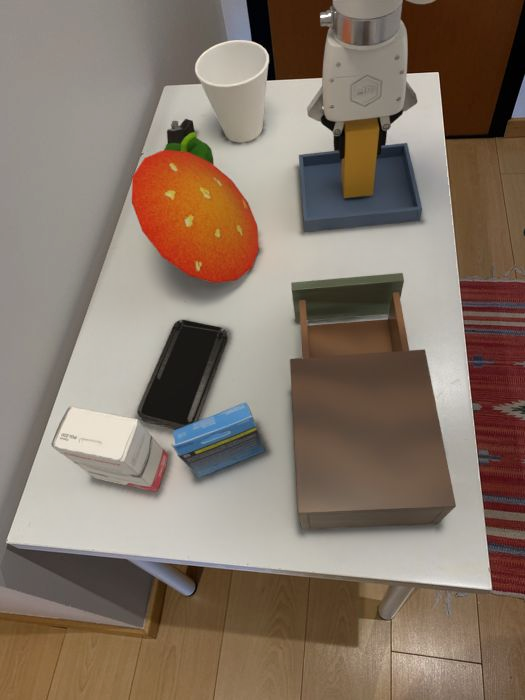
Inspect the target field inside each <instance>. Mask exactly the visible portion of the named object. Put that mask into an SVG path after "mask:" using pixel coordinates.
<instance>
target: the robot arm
mask: <svg viewBox="0 0 525 700" xmlns="http://www.w3.org/2000/svg"><path fill="white" fill-rule="evenodd" d="M405 1H406V2H409V3H411V4H416V5H427V4H431V3H433V2H434V3H435V1H437V0H405ZM402 11H403V0H332V5H331V6H329V9H327V10H326V11H322V12H320V13H319V23H320V24H319V25H320V27H327V28H329V29H328V30H327V33H326V39H325V44H324V52H323V61H322V74H321V75H322V77H321V87H320V88H319V90H318V91H317V92H316V94H315V95H314V97H313V98H312V100H311V101H310V103H309V104H308V105H307V107H306V111H307V113H306V114H307V116H308V117H309V118H311V119H313V120H314V121H317V122H320V123H321V125H323V126H324V127H325V128H327V129H328V130H329V131H331V132H332V136H333V151H338V150H339V158H340V159H343V158H345V132H344V123H345V121H350V120H359V119H368V118H376V117H377V119H378V124H379V137H378V147H377V155H381V147H382V146H383V145H387V144H386V143H387V136H388V135H387V134H388V131H389V130H390V129H391V127H392V126H391V125H392V124H393V123H395V121H397V120H398V119H399V118H400V117H401V116H402V115H403V113H404V112H407V111H408V110H410V109H411V108H413V107H414V106H416V105H417V104H418V97H417V94H416V92H415V91H414V90H413V88H412V87H411V85H410V84H409V83H408V81H407V76H408V75H407V74H408V53H409V50H408V49H409V48H408V47H409V46H408V33H407V28H406V26H405V23H404V22H403V20H402Z"/></svg>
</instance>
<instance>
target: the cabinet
mask: <svg viewBox="0 0 525 700" xmlns="http://www.w3.org/2000/svg"><path fill="white" fill-rule="evenodd" d="M289 366H290V367H289V368H290V369H289V370H290V384H291V385H290V387H291V388H290V389H291V406H292V407H291V408H292V425H293V444H294V445H293V446H294V466H295V482H296V503H297V504H296V505H297V516H298V518H299V522H300V525H301V529H302V531H303V530H305V531H306V530H326V529H327V530H328V529H350V528H351V529H353V528H376V527H379V528H380V527H397V526H398V527H399V526H400V527H404V526H424V525H425V526H426V525H427V526H428V525H439V523H441V522H442V521H443V520H444V519H445V518H446V517H447V516H448V515H449V513H451V512H452V511H453V510H454V509H455V508H456V507H457V505H456V498H455V494H454V488H453V484H452V479H451V474H450V469H449V464H448V458H447V454H446V448H445V444H444V439H443V434H442V429H441V424H440V419H439V418H440V417H439V413H438V408H437V402H436V399H435V398H436V397H435V393H434V388H433V382H432V378H431V373H430V368H429V363H428V357H427V353H426V349H424V348H423V349H411V350H410V349H409V351H395V352H381V353H367V354H354V355H340V356H326V357H312V358H303V357H300V358H299V357H298V358H290V359H289Z"/></svg>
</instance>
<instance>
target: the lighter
mask: <svg viewBox="0 0 525 700" xmlns="http://www.w3.org/2000/svg"><path fill="white" fill-rule="evenodd" d="M192 132H195V133H196V129H195V125H194V121H193V120H191V119H189V118H184V120H183V121H182V122H181V123H180V125H179V120H172V121H171V124H170V128H167V130H166V139H167V141H166V142H167V144H170V143H179V144H180V143H181V142H182V141H183V139H184V138H185V137H186V136H187V135H188V134H190V133H192Z"/></svg>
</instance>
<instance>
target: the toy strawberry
mask: <svg viewBox="0 0 525 700" xmlns="http://www.w3.org/2000/svg"><path fill="white" fill-rule="evenodd" d="M131 184H132V185H131V186H132V187H131V204H132V207H133V210H134V213H135V215H136V218H137V221H138V223H139V225H140V229H141V231H142V233H143V234H144V235H145V237H146V238H147V240H148V241H149V242H150V243H151V245H152V246H153V247H154V249H155V250H157V252H158V253H159V255H160V256H161V257H162V258H163V259H164V260H166V261H167V262H169V263H170V264H171V265H173V266H174V267H175V268H177V269H178V270H180V271H181V272H183V273H184V274H185V275H187V277H192V278H195V279H199V280H202V281H205V282H208V283H211V284H219V283H221V284H222V283H227V282H235V281H238V280H240V279H241V277H242V276H244V275H245V274H247V273H248V272H249V271H250V270H251V269H252V268H253V266H254V263H255V260H256V258H257V256H258V253H259V250H260V246H259V245H260V243H259V231H258V229H259V228H258V224H257V222H256V218H255V216H254V214H253V212H252V209H251V206H250V204H249V202H248V201H247V199H246V198H245V196H244V194H243V193H242V192H241V191H240V189H239V188H238V186H237V185H236V183H234V181H233V180H232V179H231V178H230V177H229V176H227V175H226V174H225V173H224V172H223V171H222V170H221V169H219V168H218V167H217V166H216V165H213V164H212V163H210V162H208V161H206V160H204V159H202V158H199V157H197V156H195V155H193V154H191V153H189V152H181V151H170V150H164V149H163V150H161V151H158V152H156V153H153V154H151V155H148V156H147V157H144V158H143V160H142V161H141V163H140V164H139V166H138V167H137V169H136V170H135V172H134V174H133V175H132V183H131Z"/></svg>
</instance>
